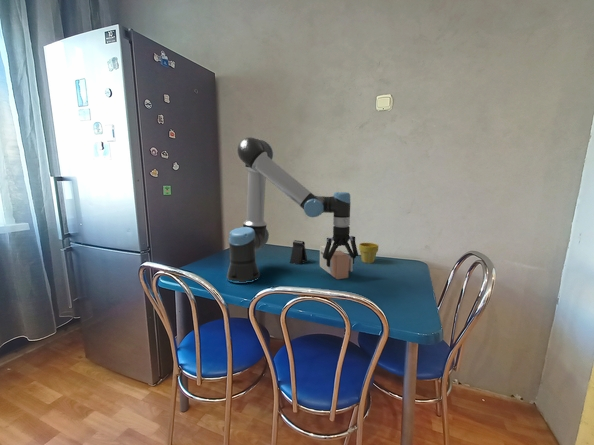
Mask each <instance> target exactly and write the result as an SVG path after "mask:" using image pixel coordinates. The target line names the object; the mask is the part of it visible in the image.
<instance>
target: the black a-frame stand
mask: <svg viewBox="0 0 594 445" xmlns="http://www.w3.org/2000/svg"><path fill="white" fill-rule="evenodd" d="M305 244H306V243H305V241H302V240H295V239H294V240H293V241H292V249H291V254H290V259H289V260H290V261H289V263H290V264H293V263H295V265H298V264H300V265H302V264H304V263H306V262H308V256H307V250H306V246H305ZM305 261H306V262H305ZM303 262H304V263H303ZM301 263H302V264H301Z"/></svg>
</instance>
